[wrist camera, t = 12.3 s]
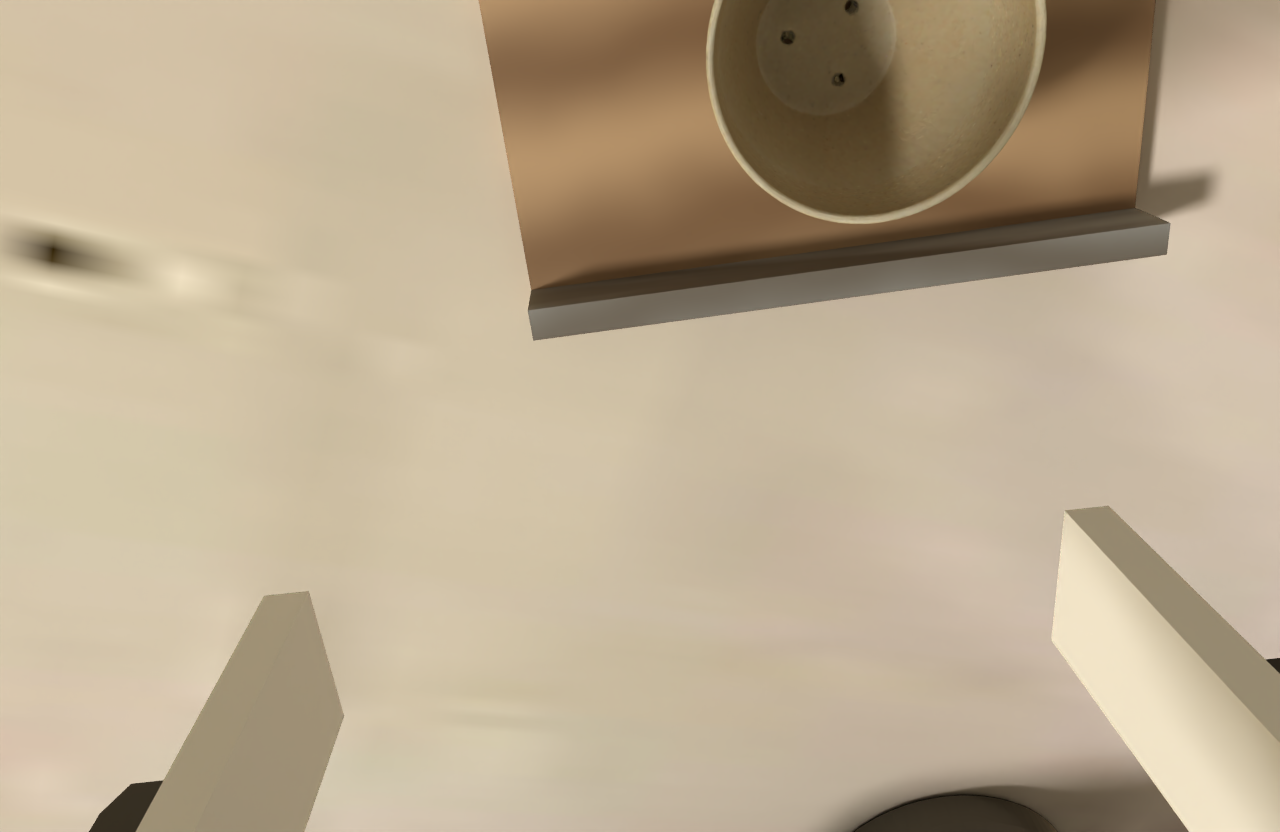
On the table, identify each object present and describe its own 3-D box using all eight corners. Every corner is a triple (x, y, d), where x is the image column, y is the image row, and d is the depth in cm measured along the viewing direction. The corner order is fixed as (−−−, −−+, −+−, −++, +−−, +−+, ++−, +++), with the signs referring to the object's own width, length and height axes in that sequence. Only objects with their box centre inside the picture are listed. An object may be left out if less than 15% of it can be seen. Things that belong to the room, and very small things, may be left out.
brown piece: (1119, 231, 39) (1352, 344, 27) (537, 310, 39) (516, 456, 27) (1169, -307, 31) (1527, -479, 19) (444, -205, 31) (357, -314, 19)
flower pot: (1013, -38, 33) (1117, -42, 27) (871, 221, 37) (931, 273, 30) (763, -177, 31) (810, -218, 25) (638, 112, 35) (650, 143, 28)
